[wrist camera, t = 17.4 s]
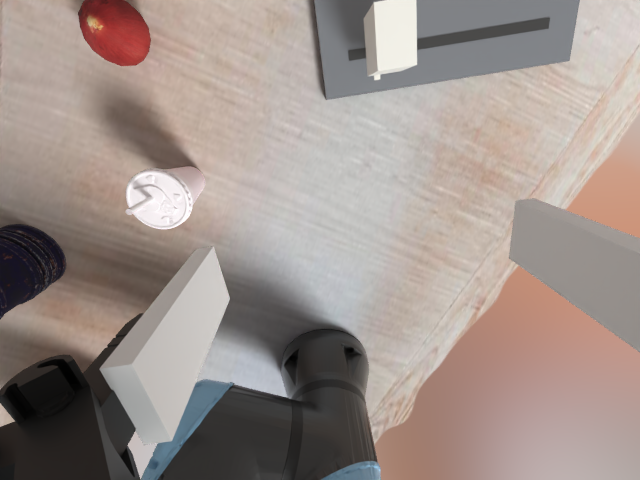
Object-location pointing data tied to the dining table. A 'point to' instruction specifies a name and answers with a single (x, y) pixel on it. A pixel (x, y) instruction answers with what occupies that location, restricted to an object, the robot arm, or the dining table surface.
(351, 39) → the console
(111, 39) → the onion
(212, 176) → the dining table surface
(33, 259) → the storage jar
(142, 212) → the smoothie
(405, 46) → the block
